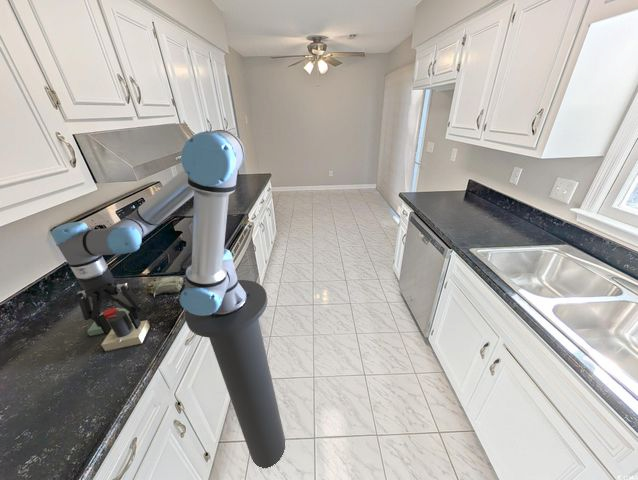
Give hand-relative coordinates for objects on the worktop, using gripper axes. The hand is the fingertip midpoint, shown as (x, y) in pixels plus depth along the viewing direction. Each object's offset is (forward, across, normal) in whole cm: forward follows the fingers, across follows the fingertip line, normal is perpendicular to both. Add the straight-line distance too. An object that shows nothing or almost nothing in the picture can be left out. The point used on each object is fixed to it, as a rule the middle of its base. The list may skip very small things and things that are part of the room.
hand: (123, 328), depth 86 cm
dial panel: (+4, 0, 0) cm, 4 cm away
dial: (+1, 0, 0) cm, 1 cm away
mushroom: (+5, +6, +27) cm, 28 cm away
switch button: (+1, -8, +11) cm, 14 cm away
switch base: (+4, -8, +10) cm, 14 cm away
